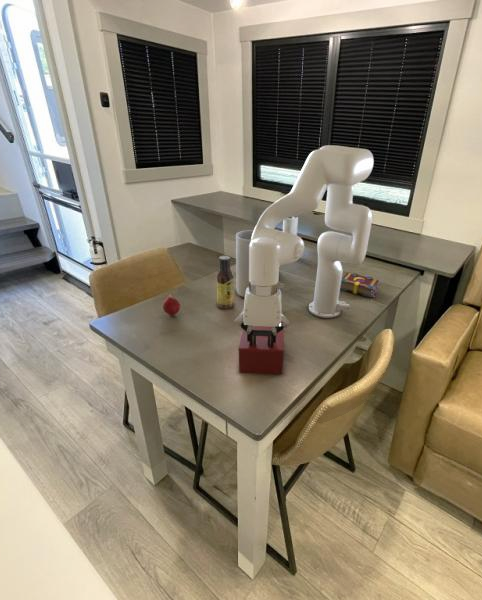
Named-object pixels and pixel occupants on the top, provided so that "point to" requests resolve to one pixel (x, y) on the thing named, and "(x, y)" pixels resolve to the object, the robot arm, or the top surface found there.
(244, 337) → the lid
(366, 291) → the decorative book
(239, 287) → the cylinder vase
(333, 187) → the robot arm
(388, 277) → the top surface
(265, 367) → the red bin
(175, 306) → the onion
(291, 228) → the paper towel roll
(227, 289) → the sauce bottle
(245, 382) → the top surface
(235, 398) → the top surface
